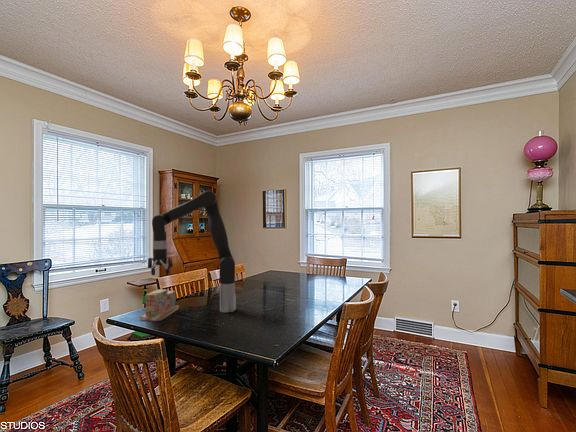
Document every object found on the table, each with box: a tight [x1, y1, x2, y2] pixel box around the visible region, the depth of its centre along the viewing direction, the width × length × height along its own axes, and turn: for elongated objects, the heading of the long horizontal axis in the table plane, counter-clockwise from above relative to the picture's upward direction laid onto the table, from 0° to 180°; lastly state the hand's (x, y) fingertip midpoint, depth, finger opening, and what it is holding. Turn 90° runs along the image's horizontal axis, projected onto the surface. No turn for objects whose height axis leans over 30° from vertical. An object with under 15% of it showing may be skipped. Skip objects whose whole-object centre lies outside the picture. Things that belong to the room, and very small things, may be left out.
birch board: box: [139, 305, 180, 322], centre depth 178 cm, size 12×22×2 cm, turn 174°
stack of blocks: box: [144, 289, 176, 316], centre depth 178 cm, size 21×6×12 cm, turn 171°
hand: (160, 275), depth 178 cm, fingers open, 8 cm apart
